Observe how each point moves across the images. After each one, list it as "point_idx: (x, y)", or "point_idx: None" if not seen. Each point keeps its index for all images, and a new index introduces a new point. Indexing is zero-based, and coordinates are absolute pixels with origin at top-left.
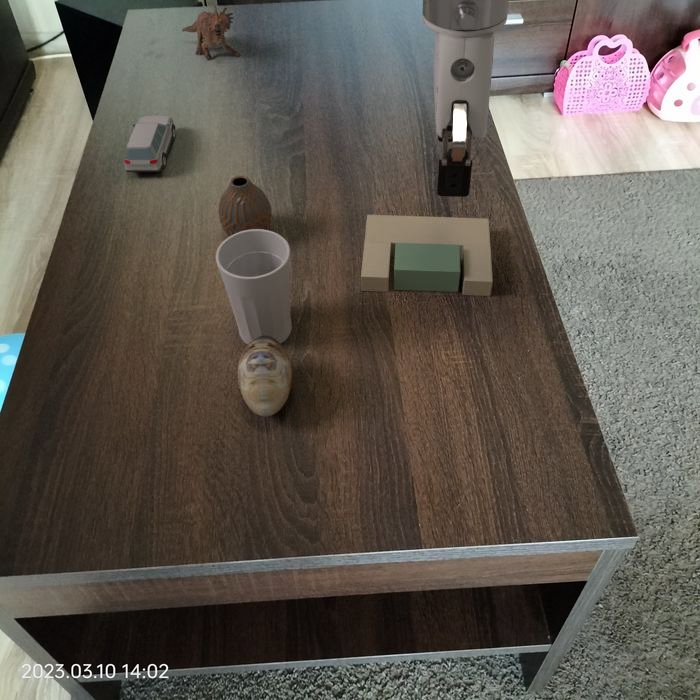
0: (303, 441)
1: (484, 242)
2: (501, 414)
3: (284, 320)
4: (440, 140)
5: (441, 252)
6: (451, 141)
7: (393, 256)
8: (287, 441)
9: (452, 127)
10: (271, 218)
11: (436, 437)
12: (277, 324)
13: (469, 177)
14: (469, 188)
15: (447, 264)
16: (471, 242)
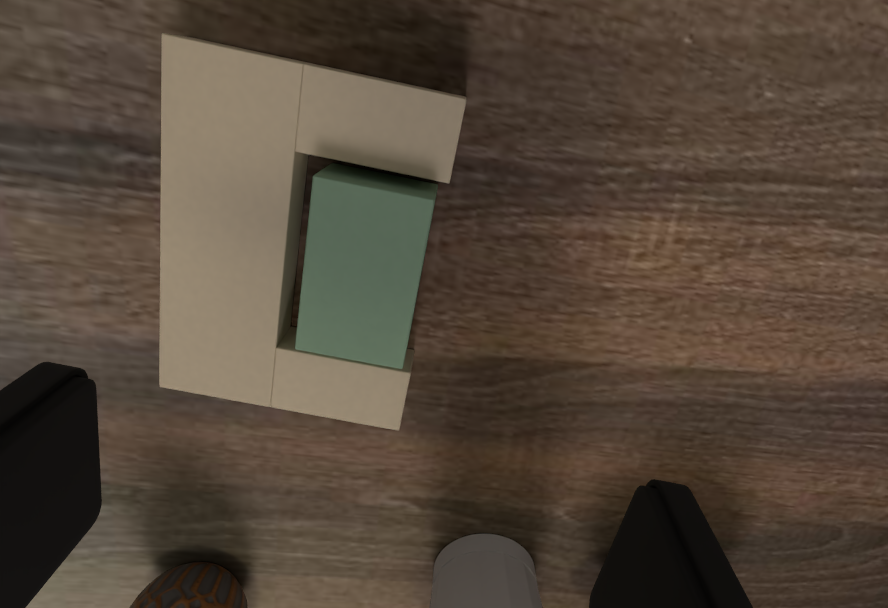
0: (766, 536)
1: (284, 79)
2: (856, 170)
3: (525, 588)
4: (94, 512)
5: (345, 236)
6: (97, 456)
7: (290, 320)
8: (756, 557)
9: (21, 536)
10: (188, 584)
11: (855, 322)
12: (537, 602)
13: (743, 604)
14: (704, 520)
15: (399, 230)
16: (284, 123)
